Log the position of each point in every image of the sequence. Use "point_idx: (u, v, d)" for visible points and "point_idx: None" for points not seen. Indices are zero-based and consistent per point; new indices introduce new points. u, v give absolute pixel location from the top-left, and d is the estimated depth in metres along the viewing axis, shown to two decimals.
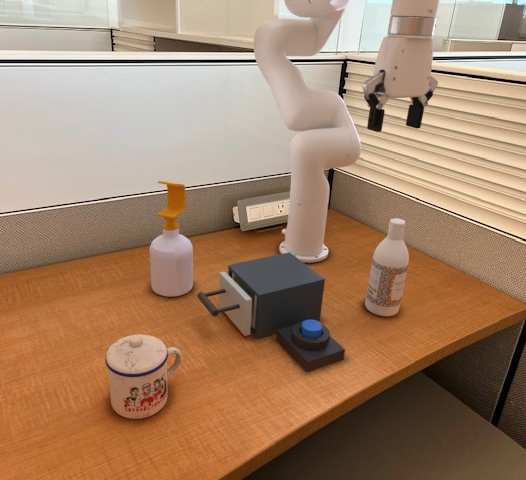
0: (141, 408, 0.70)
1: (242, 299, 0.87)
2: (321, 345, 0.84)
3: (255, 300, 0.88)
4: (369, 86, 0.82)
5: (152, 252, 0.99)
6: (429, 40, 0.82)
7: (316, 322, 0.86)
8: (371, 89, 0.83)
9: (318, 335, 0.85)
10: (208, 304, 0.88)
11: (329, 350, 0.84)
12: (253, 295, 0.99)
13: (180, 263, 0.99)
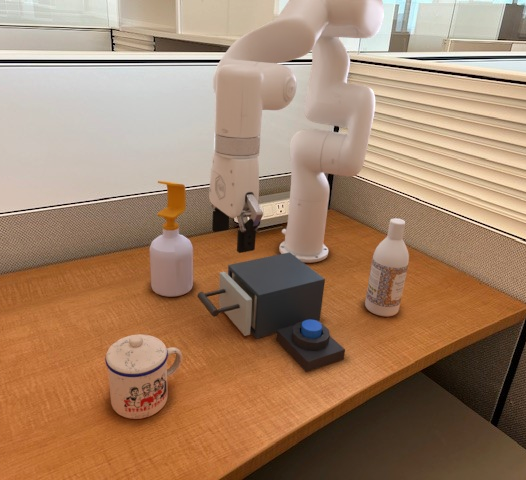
0: (141, 408, 0.70)
1: (242, 299, 0.87)
2: (321, 345, 0.84)
3: (255, 300, 0.88)
4: None
5: (152, 252, 0.99)
6: None
7: (316, 322, 0.86)
8: None
9: (318, 335, 0.85)
10: (208, 304, 0.88)
11: (329, 350, 0.84)
12: (253, 295, 0.99)
13: (180, 263, 0.99)
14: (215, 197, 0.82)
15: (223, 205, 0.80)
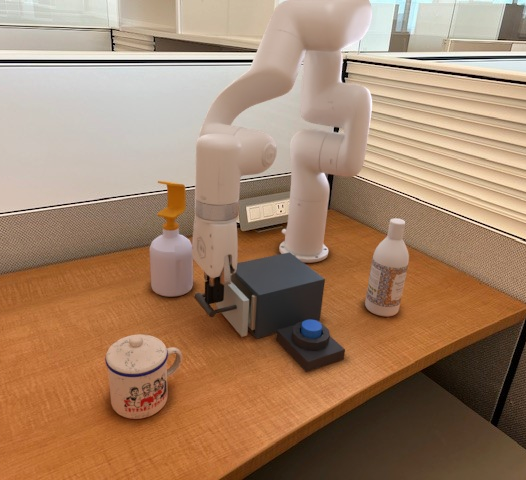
0: (141, 408, 0.70)
1: (239, 300, 0.87)
2: (321, 345, 0.84)
3: (252, 301, 0.88)
4: None
5: (152, 252, 0.99)
6: None
7: (316, 322, 0.86)
8: None
9: (318, 335, 0.85)
10: (205, 305, 0.88)
11: (329, 350, 0.84)
12: (250, 296, 0.99)
13: (180, 263, 0.99)
14: (197, 255, 0.86)
15: (203, 265, 0.83)
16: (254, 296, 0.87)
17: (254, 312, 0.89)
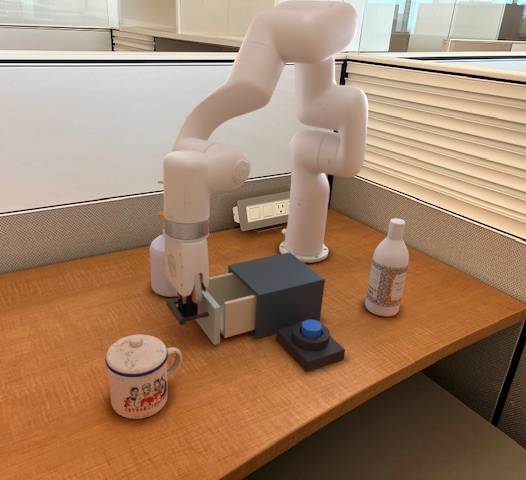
0: (141, 408, 0.70)
1: (210, 307, 0.84)
2: (321, 345, 0.84)
3: (224, 308, 0.85)
4: None
5: (152, 252, 0.99)
6: None
7: (316, 322, 0.86)
8: None
9: (318, 335, 0.85)
10: (176, 312, 0.85)
11: (329, 350, 0.84)
12: (226, 302, 0.97)
13: None
14: (169, 272, 0.84)
15: (175, 283, 0.82)
16: (226, 303, 0.85)
17: (227, 319, 0.86)
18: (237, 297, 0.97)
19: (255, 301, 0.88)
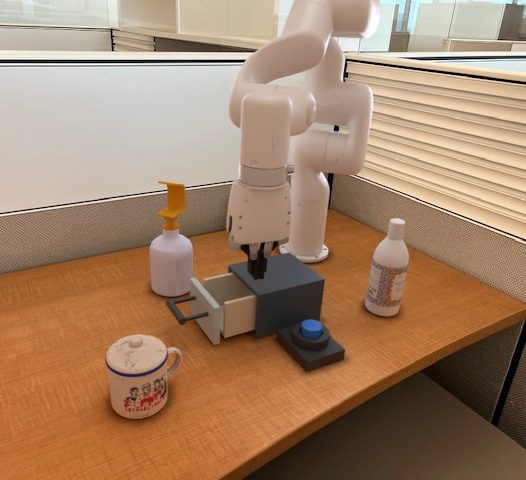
0: (141, 408, 0.70)
1: (210, 307, 0.84)
2: (321, 345, 0.84)
3: (224, 308, 0.85)
4: (233, 245, 0.78)
5: (152, 252, 0.99)
6: (281, 187, 0.75)
7: (316, 322, 0.86)
8: (237, 245, 0.79)
9: (318, 335, 0.85)
10: (176, 312, 0.85)
11: (329, 350, 0.84)
12: (226, 302, 0.97)
13: (180, 263, 0.99)
14: None
15: None
16: (226, 303, 0.85)
17: (226, 319, 0.86)
18: (237, 297, 0.97)
19: (255, 301, 0.88)
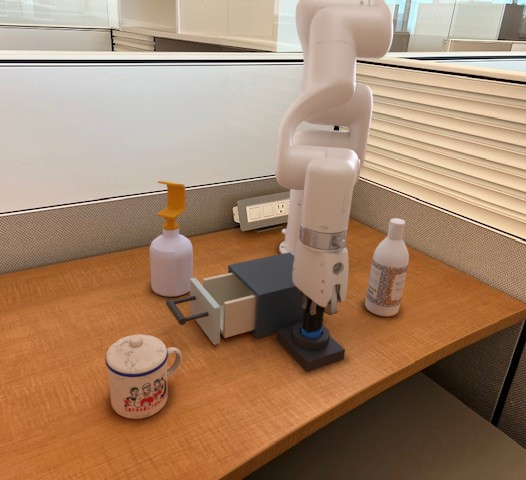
0: (141, 408, 0.70)
1: (210, 307, 0.84)
2: (321, 345, 0.84)
3: (224, 308, 0.85)
4: None
5: (152, 252, 0.99)
6: (319, 252, 0.76)
7: None
8: None
9: None
10: (176, 312, 0.85)
11: (329, 350, 0.84)
12: (226, 302, 0.97)
13: (180, 263, 0.99)
14: None
15: None
16: (226, 303, 0.85)
17: (226, 319, 0.86)
18: (237, 297, 0.97)
19: (255, 301, 0.88)
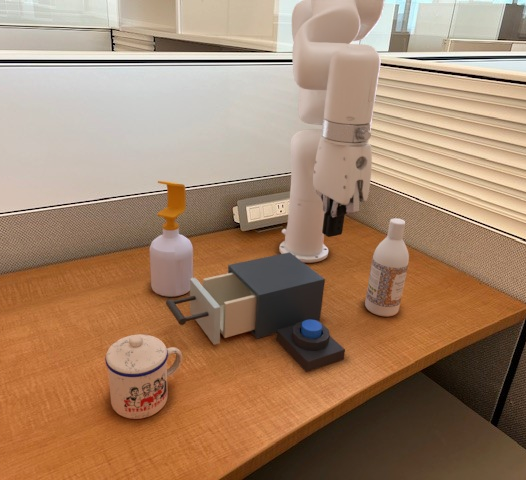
0: (141, 408, 0.70)
1: (210, 307, 0.84)
2: (321, 345, 0.84)
3: (224, 308, 0.85)
4: (317, 190, 0.86)
5: (152, 252, 0.99)
6: (342, 146, 0.75)
7: (316, 322, 0.86)
8: (320, 192, 0.85)
9: (318, 335, 0.85)
10: (176, 312, 0.85)
11: (329, 350, 0.84)
12: (226, 302, 0.97)
13: (180, 263, 0.99)
14: None
15: None
16: (226, 303, 0.85)
17: (226, 319, 0.86)
18: (237, 297, 0.97)
19: (255, 301, 0.88)
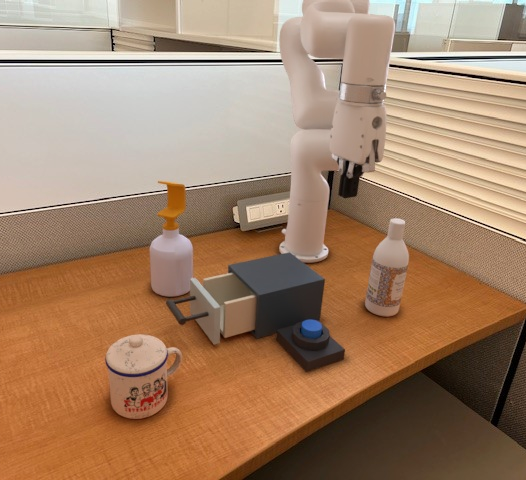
0: (141, 408, 0.70)
1: (210, 307, 0.84)
2: (321, 345, 0.84)
3: (224, 308, 0.85)
4: (333, 155, 0.90)
5: (152, 252, 0.99)
6: (359, 107, 0.79)
7: (316, 322, 0.86)
8: (336, 156, 0.89)
9: (318, 335, 0.85)
10: (176, 312, 0.85)
11: (329, 350, 0.84)
12: (226, 302, 0.97)
13: (180, 263, 0.99)
14: None
15: None
16: (226, 303, 0.85)
17: (226, 319, 0.86)
18: (237, 297, 0.97)
19: (255, 301, 0.88)
